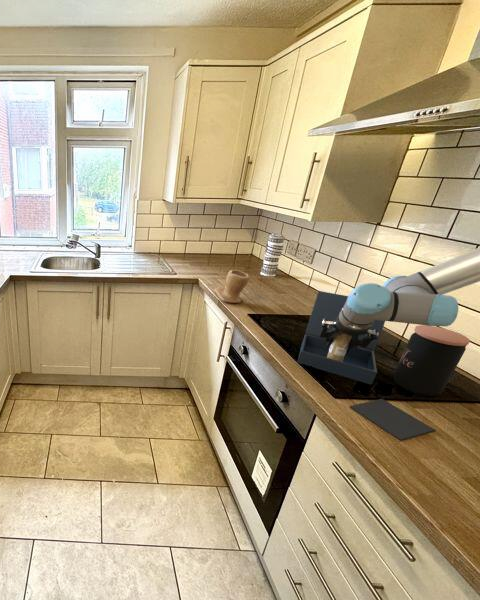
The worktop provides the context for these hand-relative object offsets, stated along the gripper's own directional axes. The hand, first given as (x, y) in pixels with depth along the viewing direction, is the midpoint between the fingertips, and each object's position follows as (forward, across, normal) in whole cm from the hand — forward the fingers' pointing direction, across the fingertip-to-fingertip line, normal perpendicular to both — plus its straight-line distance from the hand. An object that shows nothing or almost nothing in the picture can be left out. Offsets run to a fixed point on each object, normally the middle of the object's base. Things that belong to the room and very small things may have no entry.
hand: (337, 346), depth 107 cm
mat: (-16, +13, -22) cm, 30 cm away
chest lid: (-2, 0, +9) cm, 10 cm away
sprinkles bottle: (0, 0, -6) cm, 6 cm away
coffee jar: (+1, +20, -6) cm, 21 cm away
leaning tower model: (+70, -35, +63) cm, 101 cm away
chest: (+1, 0, -6) cm, 6 cm away
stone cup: (+28, -43, +21) cm, 56 cm away
